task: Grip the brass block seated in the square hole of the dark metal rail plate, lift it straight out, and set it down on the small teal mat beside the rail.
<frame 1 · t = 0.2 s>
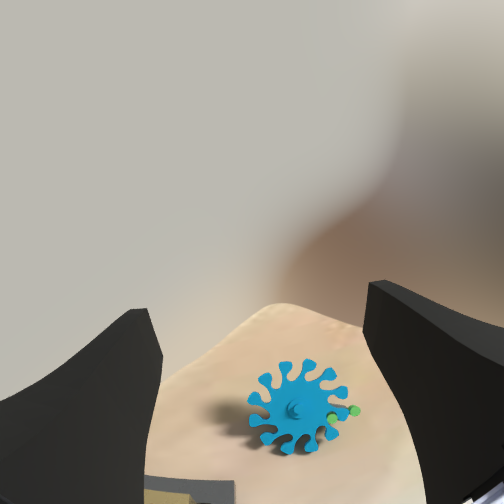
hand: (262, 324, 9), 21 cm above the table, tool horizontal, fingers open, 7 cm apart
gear: (301, 429, 26), on the table
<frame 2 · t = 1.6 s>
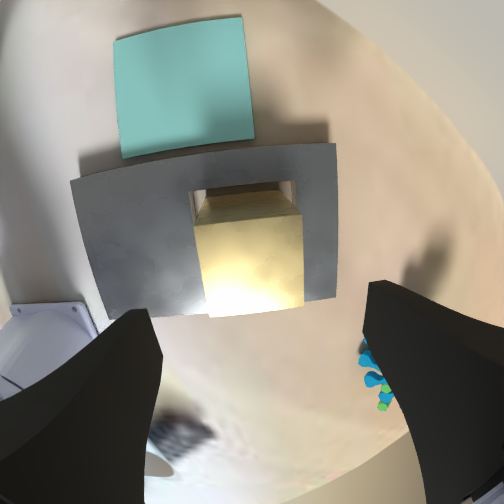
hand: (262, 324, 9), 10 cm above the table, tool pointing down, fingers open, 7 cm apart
brass block: (246, 228, 18), resting in rail plate
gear: (391, 340, 23), on the table
teal mat: (180, 83, 14), on the table
rail plate: (206, 233, 18), on the table
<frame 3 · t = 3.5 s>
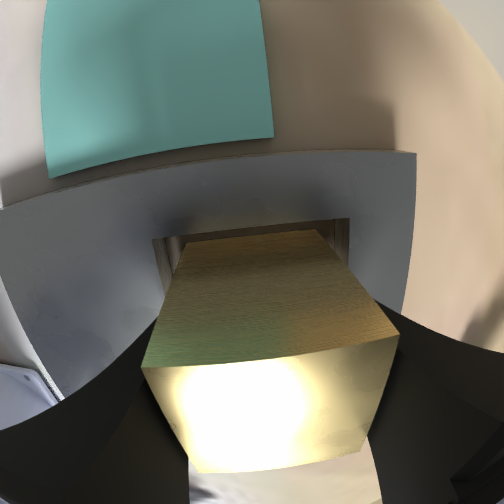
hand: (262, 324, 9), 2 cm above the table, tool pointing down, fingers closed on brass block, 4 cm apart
brass block: (256, 292, 11), resting in rail plate, touching gripper
teal mat: (140, 44, 7), on the table
rail plate: (191, 299, 11), on the table
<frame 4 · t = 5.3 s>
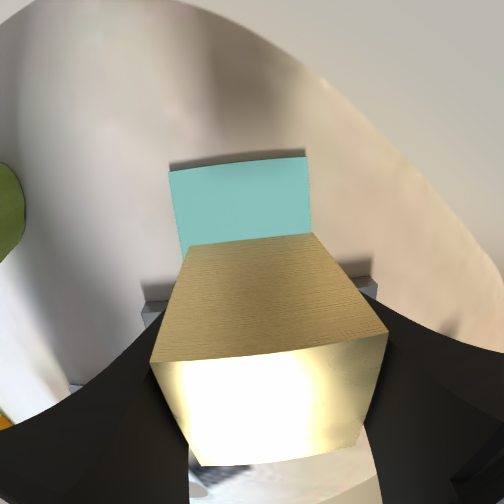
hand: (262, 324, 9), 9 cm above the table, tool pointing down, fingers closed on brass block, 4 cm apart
puzzle toy: (1, 421, 27), on the table
brass block: (256, 293, 11), point 7 cm above the table, touching gripper
teal mat: (244, 227, 18), on the table
rail plate: (264, 346, 21), on the table
plant pot: (0, 207, 16), on the table
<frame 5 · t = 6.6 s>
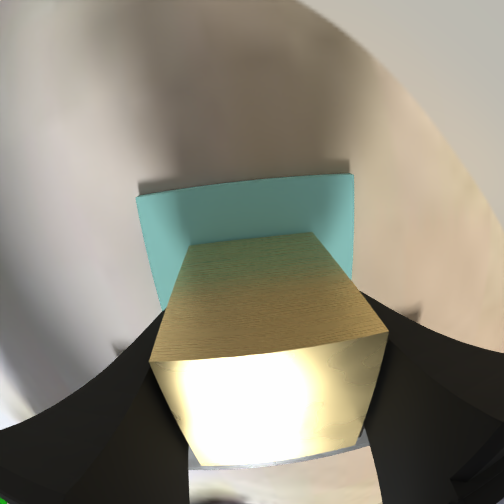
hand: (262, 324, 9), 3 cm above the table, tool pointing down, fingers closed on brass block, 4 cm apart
brass block: (256, 292, 11), point 1 cm above the table, touching gripper
teal mat: (254, 279, 12), on the table
rail plate: (276, 414, 15), on the table
when the fingers open (3 cm above the table, at t = 7.4 s): brass block stays where it is, resting on teal mat.
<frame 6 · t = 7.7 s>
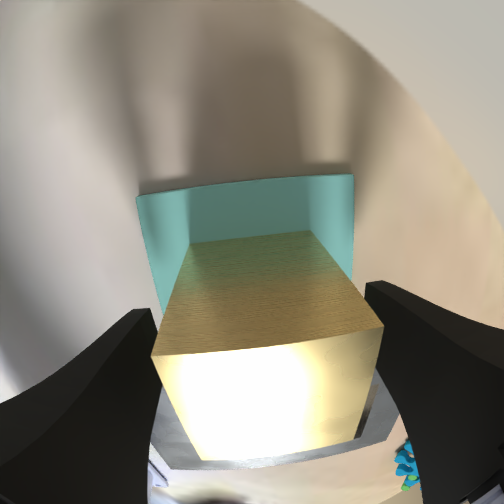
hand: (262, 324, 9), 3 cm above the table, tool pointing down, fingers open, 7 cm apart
brass block: (255, 290, 11), resting on teal mat
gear: (422, 438, 21), on the table
teal mat: (254, 280, 12), on the table
rail plate: (276, 414, 15), on the table
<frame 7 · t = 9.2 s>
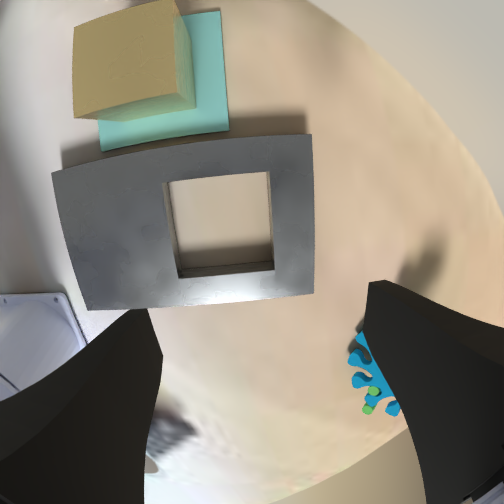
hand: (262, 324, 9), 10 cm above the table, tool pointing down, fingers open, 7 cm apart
brass block: (156, 79, 14), resting on teal mat
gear: (382, 343, 23), on the table
teal mat: (157, 77, 14), on the table
rail plate: (181, 225, 18), on the table
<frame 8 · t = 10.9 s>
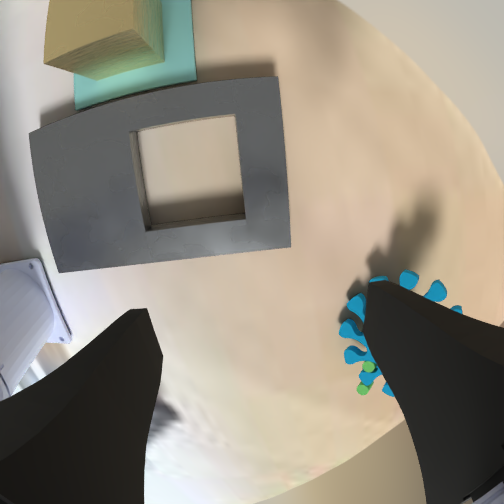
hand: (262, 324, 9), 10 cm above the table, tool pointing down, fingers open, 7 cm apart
brass block: (128, 40, 12), resting on teal mat
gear: (377, 314, 22), on the table
teal mat: (130, 38, 13), on the table
rail plate: (150, 177, 16), on the table
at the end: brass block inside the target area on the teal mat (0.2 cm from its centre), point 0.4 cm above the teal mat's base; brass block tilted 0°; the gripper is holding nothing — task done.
